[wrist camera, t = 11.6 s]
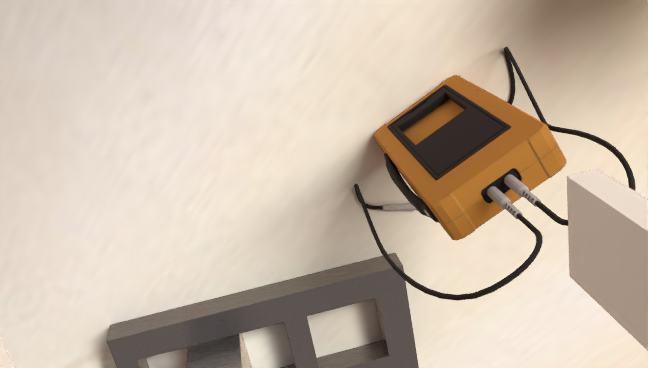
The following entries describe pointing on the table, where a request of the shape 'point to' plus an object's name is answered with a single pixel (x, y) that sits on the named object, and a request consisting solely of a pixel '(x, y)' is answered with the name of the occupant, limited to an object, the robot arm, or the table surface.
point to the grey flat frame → (283, 319)
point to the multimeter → (471, 162)
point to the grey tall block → (219, 354)
